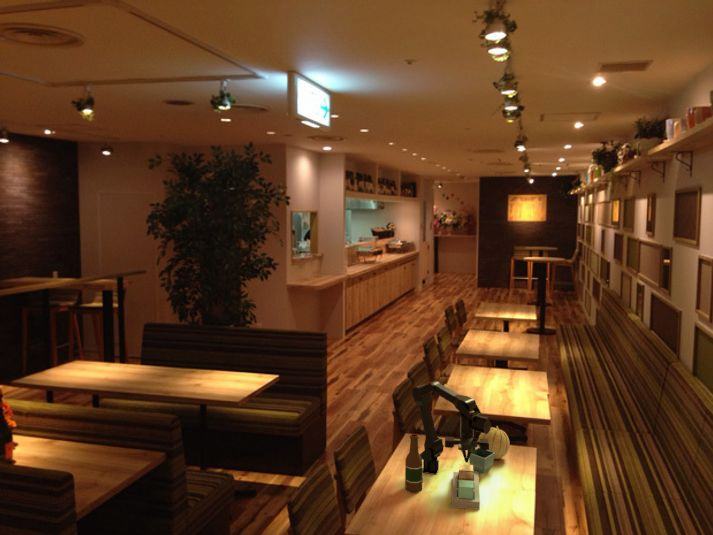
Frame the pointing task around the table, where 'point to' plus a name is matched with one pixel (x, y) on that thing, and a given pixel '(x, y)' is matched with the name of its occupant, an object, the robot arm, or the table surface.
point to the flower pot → (481, 460)
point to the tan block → (466, 476)
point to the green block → (465, 489)
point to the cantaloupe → (496, 442)
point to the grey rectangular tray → (465, 502)
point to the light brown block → (465, 468)
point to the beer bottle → (413, 467)
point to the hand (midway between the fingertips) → (466, 462)
